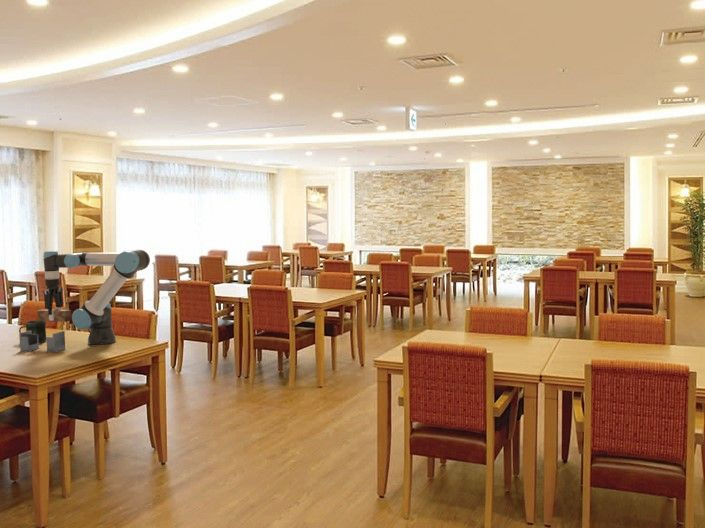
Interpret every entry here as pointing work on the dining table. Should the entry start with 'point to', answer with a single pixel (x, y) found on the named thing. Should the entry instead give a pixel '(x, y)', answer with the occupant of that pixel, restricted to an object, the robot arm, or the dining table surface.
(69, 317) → the rail
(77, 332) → the dining table surface
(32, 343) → the bracket
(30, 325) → the mug
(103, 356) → the dining table surface
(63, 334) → the bracket
